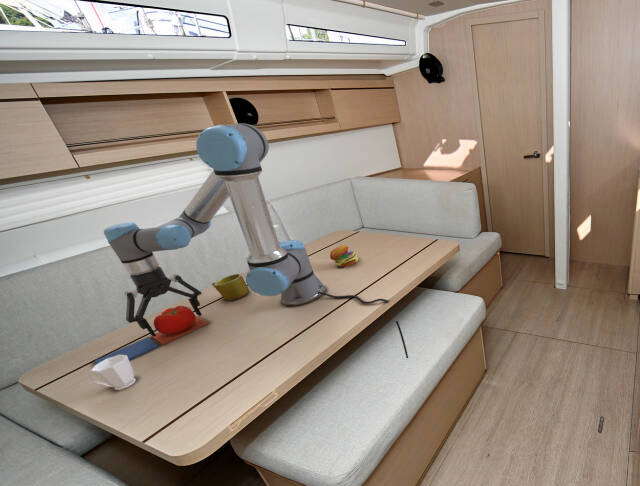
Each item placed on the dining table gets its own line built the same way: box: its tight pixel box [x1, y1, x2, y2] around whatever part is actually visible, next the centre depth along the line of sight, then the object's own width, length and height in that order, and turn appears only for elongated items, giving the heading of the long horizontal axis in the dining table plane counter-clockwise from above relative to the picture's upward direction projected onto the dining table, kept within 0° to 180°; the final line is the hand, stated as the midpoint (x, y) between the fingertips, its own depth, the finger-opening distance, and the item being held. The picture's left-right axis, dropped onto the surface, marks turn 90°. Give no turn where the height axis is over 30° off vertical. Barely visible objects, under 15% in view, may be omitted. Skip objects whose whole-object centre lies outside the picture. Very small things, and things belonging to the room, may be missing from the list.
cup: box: [87, 355, 137, 391], centre depth 98 cm, size 7×10×8 cm
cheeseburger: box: [329, 244, 359, 268], centre depth 164 cm, size 10×11×10 cm
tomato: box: [153, 305, 197, 334], centre depth 122 cm, size 11×11×8 cm
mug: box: [211, 273, 250, 301], centre depth 143 cm, size 12×10×10 cm
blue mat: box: [94, 337, 159, 365], centre depth 113 cm, size 10×13×1 cm
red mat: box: [151, 315, 209, 346], centre depth 124 cm, size 10×13×1 cm
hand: (177, 324), depth 123 cm, fingers open, 12 cm apart
